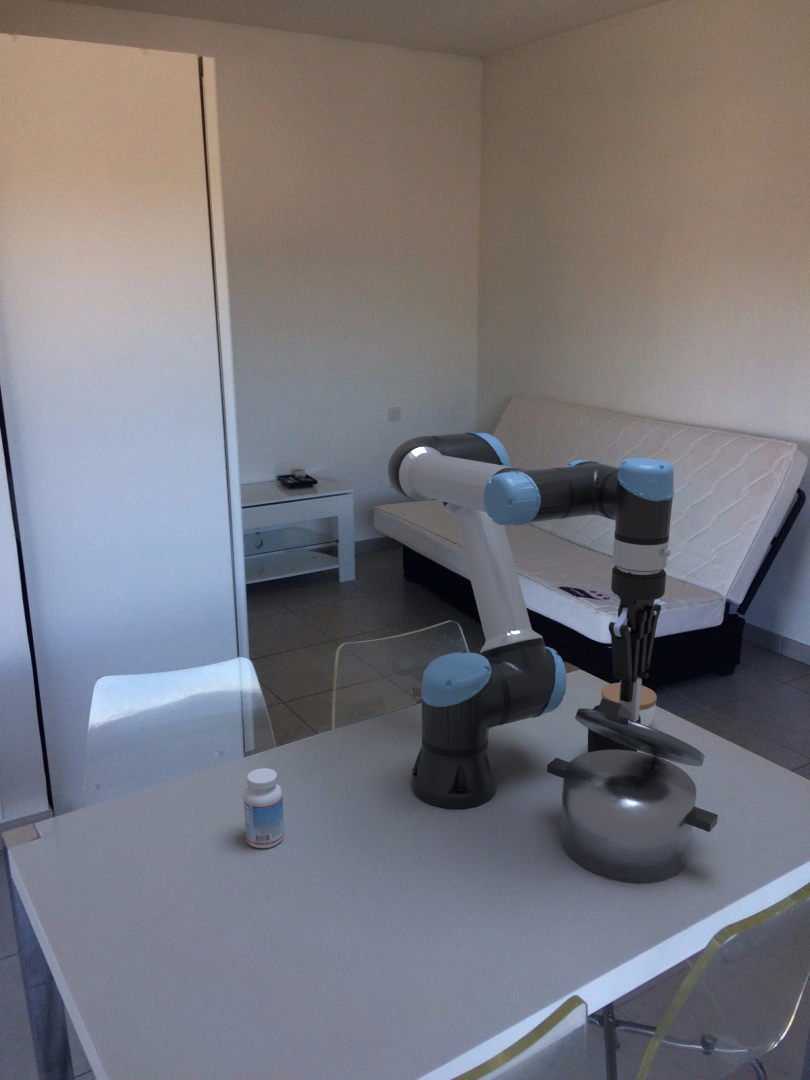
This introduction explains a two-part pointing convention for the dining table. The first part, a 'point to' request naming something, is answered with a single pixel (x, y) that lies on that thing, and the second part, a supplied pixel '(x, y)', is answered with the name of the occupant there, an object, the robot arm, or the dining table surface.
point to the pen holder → (605, 741)
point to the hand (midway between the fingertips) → (628, 718)
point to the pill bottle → (263, 809)
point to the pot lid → (637, 734)
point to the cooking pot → (628, 815)
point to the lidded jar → (646, 700)
